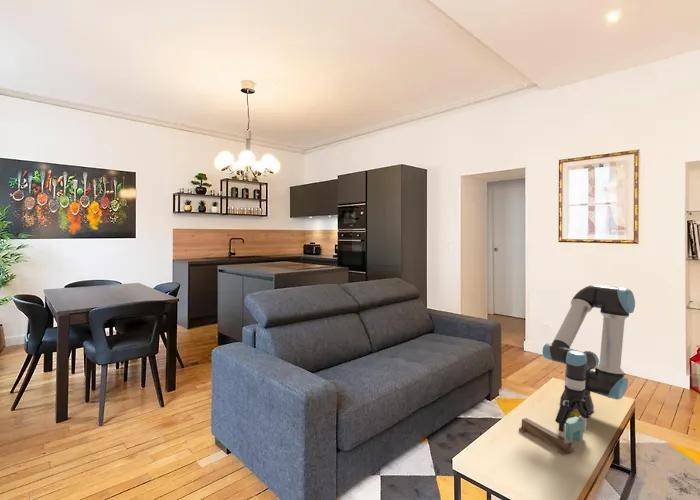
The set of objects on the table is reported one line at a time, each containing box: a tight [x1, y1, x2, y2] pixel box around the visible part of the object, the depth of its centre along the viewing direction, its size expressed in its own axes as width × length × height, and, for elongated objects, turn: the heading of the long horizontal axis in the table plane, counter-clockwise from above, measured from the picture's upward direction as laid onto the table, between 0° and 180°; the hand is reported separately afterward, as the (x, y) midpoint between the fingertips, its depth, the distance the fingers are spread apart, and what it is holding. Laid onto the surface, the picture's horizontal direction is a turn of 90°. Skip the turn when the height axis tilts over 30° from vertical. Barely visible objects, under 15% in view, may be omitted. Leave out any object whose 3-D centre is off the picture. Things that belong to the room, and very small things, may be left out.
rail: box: [518, 417, 575, 456], centre depth 167 cm, size 7×22×4 cm, turn 26°
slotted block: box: [565, 417, 584, 443], centre depth 167 cm, size 9×4×9 cm, turn 116°
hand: (572, 434), depth 167 cm, fingers open, 13 cm apart
